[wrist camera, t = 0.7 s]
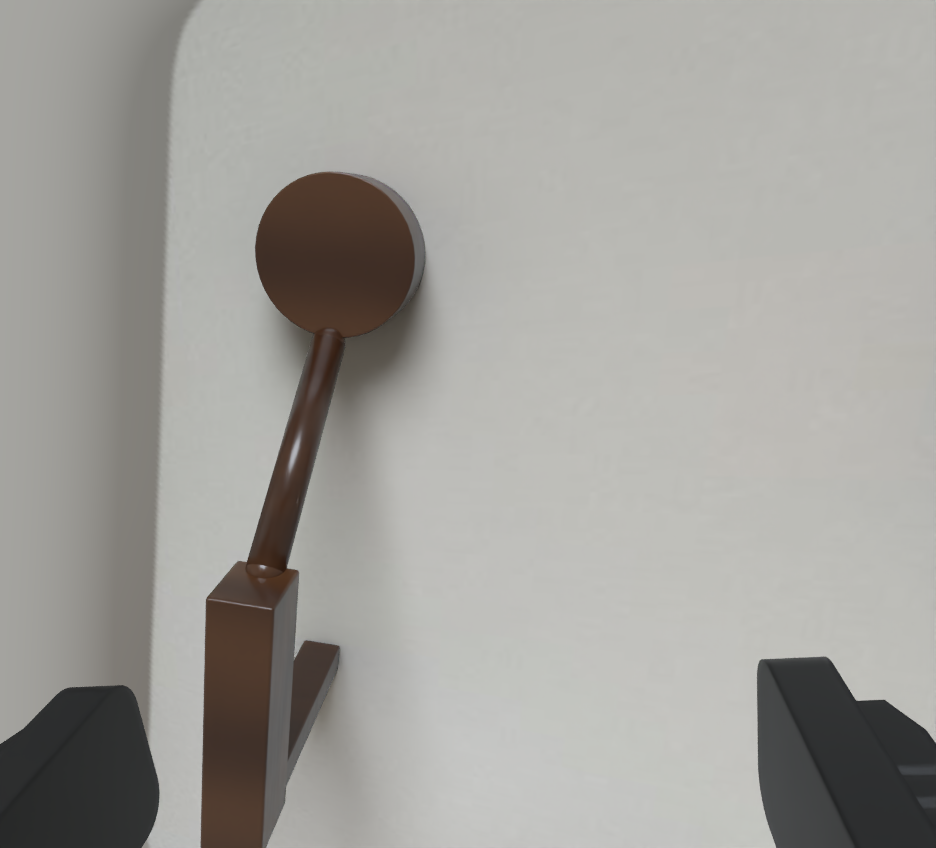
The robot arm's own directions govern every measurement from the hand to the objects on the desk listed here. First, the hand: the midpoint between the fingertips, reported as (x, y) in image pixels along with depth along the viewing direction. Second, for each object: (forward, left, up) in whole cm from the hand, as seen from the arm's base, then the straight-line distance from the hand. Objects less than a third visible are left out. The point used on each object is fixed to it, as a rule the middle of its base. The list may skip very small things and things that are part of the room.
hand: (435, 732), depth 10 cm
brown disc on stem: (0, -8, -21) cm, 22 cm away
